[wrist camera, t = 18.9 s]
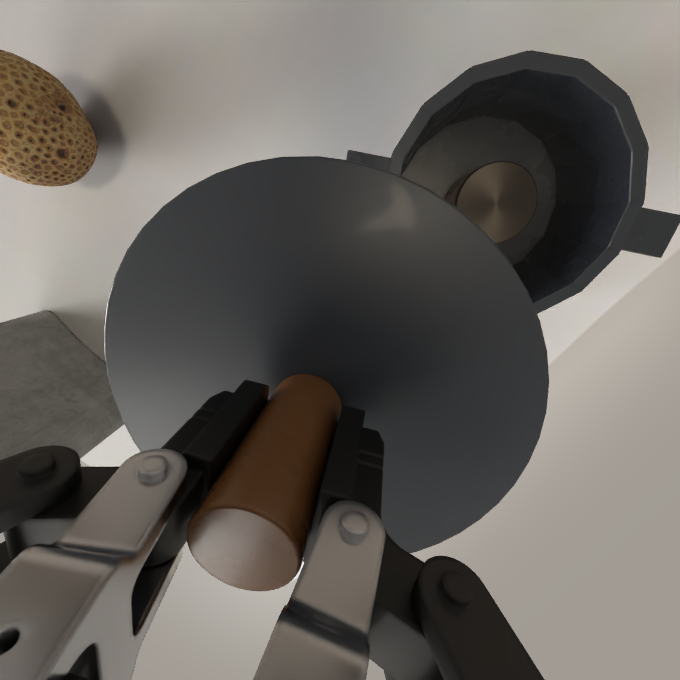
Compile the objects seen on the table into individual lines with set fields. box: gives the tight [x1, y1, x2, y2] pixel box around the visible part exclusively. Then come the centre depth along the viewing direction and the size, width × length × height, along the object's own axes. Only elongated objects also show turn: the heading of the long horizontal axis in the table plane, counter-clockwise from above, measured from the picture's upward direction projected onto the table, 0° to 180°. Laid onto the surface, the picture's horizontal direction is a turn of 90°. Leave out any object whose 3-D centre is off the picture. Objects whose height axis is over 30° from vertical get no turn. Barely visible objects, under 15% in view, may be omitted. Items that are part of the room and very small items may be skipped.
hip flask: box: [0, 311, 124, 460], centre depth 32 cm, size 16×4×20 cm, turn 46°
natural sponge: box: [0, 50, 98, 186], centre depth 28 cm, size 9×9×10 cm
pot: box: [346, 51, 680, 314], centre depth 25 cm, size 14×20×10 cm
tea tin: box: [444, 161, 538, 243], centre depth 26 cm, size 5×5×7 cm
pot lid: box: [104, 156, 549, 591], centre depth 10 cm, size 15×15×7 cm
